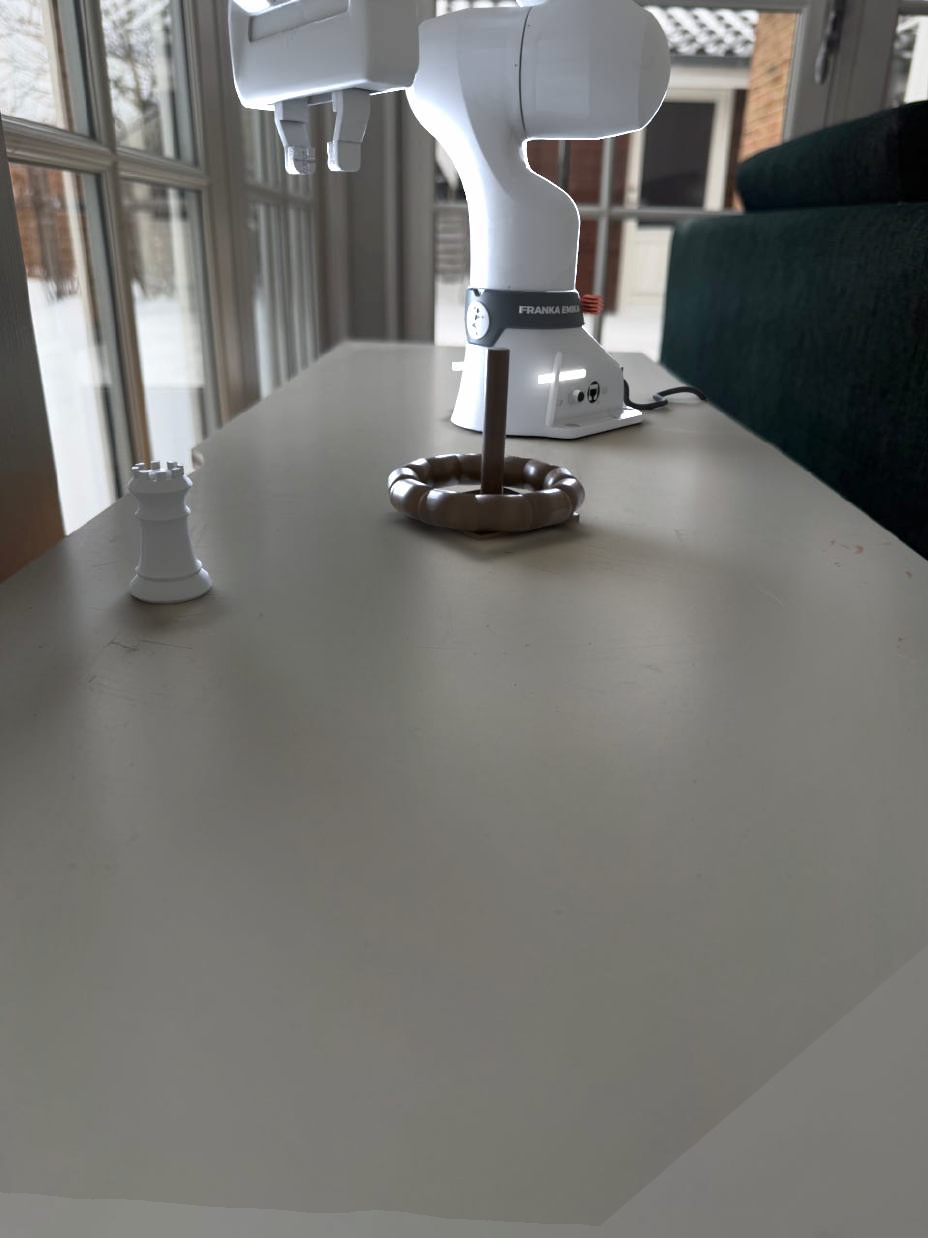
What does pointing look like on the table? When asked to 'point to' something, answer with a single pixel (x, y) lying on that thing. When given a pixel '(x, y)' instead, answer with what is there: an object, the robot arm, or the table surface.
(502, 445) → the post
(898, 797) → the table surface
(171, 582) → the rook chess piece
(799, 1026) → the table surface
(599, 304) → the robot arm
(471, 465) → the ring
